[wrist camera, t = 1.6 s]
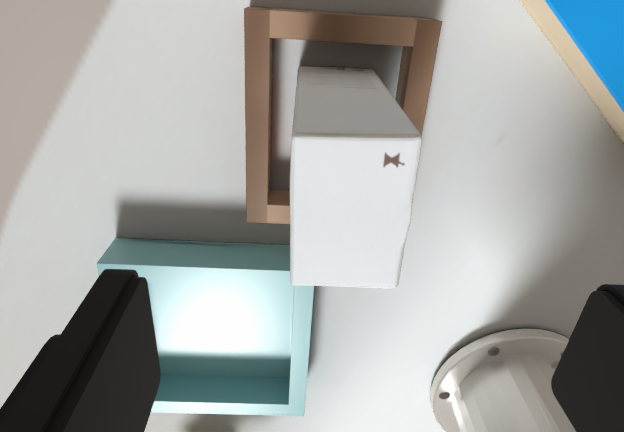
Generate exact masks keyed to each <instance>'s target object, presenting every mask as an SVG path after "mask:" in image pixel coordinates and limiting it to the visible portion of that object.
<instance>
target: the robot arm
mask: <svg viewBox="0 0 624 432" xmlns="http://www.w3.org/2000/svg"><path fill="white" fill-rule="evenodd" d="M160 377H161V371H160V363H159V357H158V350H157V343H156V337H155V330H154V323H153V317H152V310H151V303H150V296H149V290H148V283H147V280H146V278H145V277H139V276H138V273H137V271H136V270H130V269H105V270H104V271H103V272H102V273H101V274H100V276H99V277H98V279H97V280H96V282H95V283H94V285H93V286H92V288H91V289H90V291H89V292H88V294H87V296H86V297H85V299H84V300H83V302H82V303H81V305H80V306H79V308H78V309H77V311H76V312H75V314H74V315H73V317H72V318H71V320H70V321H69V323H68V324H67V326H66V327H65V329H64V331H63V332H62V334H61V335H54V336H53V337H51V338H50V339H49V340H48V341H47V342H46V343H45V345H44V346H43V347H42V349H41V350H40V352H39V353H38V355H37V356H36V358H35V359H34V361H33V362H32V364H31V365H30V366H29V368H28V369H27V371H26V372H25V374H24V375H23V377H22V378H21V380H20V381H19V383H18V384H17V385H16V387H15V388H14V390H13V391H12V393H11V394H10V396H9V397H8V399H7V400H6V402H5V403H4V404H3V406H2V407H1V409H0V432H144V430H145V427H146V424H147V421H148V418H149V415H150V412H151V409H152V406H153V403H154V400H155V397H156V394H157V391H158V388H159V384H160ZM430 400H431V404H432V409H433V412H434V415H435V417H436V420H437V422H438V423H439V424H440V426H441V427H442V428H443V430H445V431H446V432H624V285H609V284H606V285H601V286H600V287H599V288H598V289H597V290H596V291H594V292H593V293H591V294H590V296H589V298H588V300H587V302H586V304H585V307H584V309H583V311H582V313H581V315H580V318H579V320H578V322H577V324H576V326H575V328H574V331H573V333H572V335H571V337H570V339H568V338H567V337H565V336H562V335H560V334H557V333H555V332H551V331H546V330H541V329H514V330H506V331H502V332H498V333H494V334H490V335H487V336H485V337H482V338H480V339H477V340H475V341H473V342H471V343H470V344H468V345H466V346H464V347H463V348H461V349H460V350H459V351H457V352H456V353H455V354H454V355H452V356H451V357H450V358H449V359H448V360H447V361H446V362H445V363H444V364H443V365H442V367H441V368H440V369H439V371H438V373H437V374H436V376H435V378H434V380H433V384H432V387H431V394H430Z"/></svg>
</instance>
